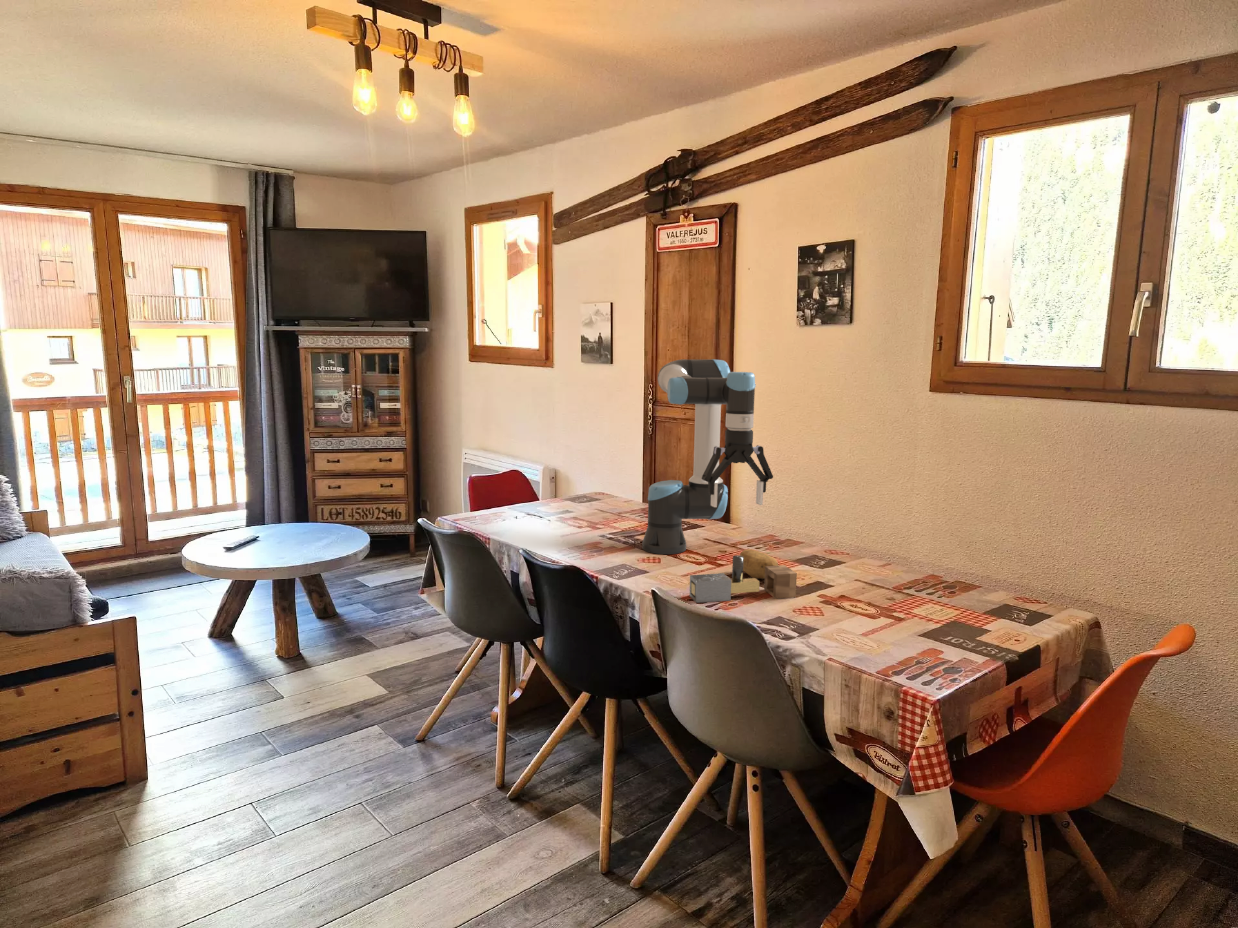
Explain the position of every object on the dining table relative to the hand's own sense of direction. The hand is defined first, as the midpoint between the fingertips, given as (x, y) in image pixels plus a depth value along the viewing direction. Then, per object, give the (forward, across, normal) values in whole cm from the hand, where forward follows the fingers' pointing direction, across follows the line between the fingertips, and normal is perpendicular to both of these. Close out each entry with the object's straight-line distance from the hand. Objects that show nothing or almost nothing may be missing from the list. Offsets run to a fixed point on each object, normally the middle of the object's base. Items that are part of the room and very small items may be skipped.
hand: (736, 505), depth 214 cm
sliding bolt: (+25, -3, -1) cm, 25 cm away
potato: (+26, +14, +14) cm, 33 cm away
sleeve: (+26, -7, 0) cm, 27 cm away
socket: (+26, +14, -1) cm, 29 cm away
